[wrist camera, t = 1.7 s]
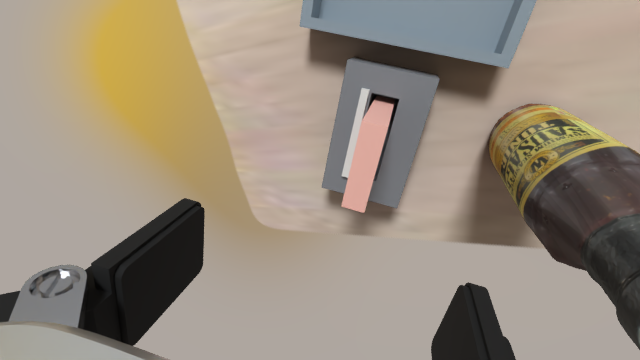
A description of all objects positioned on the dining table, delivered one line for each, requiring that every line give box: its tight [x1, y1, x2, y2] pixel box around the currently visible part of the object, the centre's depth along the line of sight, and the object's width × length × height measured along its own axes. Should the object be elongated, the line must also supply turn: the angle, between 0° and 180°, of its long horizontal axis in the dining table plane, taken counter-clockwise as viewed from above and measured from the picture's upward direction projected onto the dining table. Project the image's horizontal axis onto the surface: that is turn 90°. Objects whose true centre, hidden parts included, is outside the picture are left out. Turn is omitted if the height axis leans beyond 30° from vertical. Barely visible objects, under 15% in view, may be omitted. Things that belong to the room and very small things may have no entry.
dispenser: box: [322, 57, 440, 208], centre depth 28 cm, size 7×11×4 cm, turn 169°
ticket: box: [341, 96, 395, 213], centre depth 25 cm, size 2×6×10 cm, turn 169°
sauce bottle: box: [488, 104, 640, 350], centre depth 18 cm, size 6×6×20 cm
